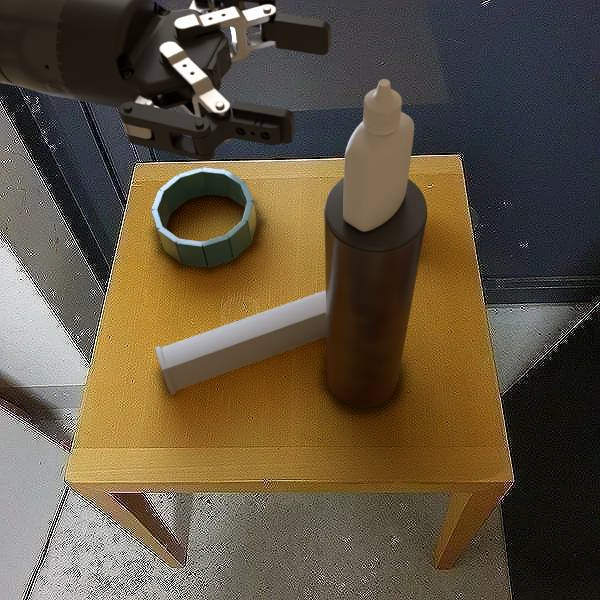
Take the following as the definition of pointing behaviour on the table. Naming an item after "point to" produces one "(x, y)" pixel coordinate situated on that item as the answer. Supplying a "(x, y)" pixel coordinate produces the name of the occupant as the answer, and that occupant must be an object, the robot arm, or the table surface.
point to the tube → (243, 342)
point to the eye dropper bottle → (377, 160)
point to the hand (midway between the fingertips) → (312, 81)
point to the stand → (369, 297)
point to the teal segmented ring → (196, 186)
